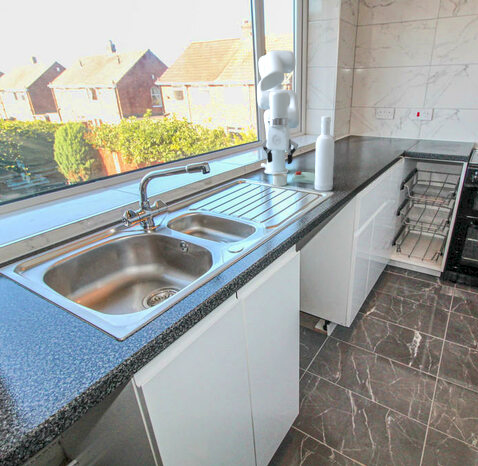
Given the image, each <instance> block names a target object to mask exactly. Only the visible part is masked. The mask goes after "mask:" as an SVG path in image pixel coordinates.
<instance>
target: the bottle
mask: <svg viewBox="0 0 478 466" xmlns="http://www.w3.org/2000/svg"><path fill="white" fill-rule="evenodd" d="M331 121H332V119H331V116H330V115H322V116H321V120H320V123H321V126H320V127H321V128H320V135H319V136H318V137H317V139H316V141H315V160H314V161H315V163H314V165H315V166H314V173H315V184H314V190H316V191H321V192H328V191H331V190H333V187H334V182H333V181H334V162H335V144H336V143H335V140H334V137H333V136H332V134H331V123H332V122H331Z"/></svg>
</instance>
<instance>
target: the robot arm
mask: <svg viewBox="0 0 478 466" xmlns="http://www.w3.org/2000/svg"><path fill="white" fill-rule="evenodd" d="M296 63H297V62H296V56H295V53H294V52H293V51H291V50H270V51H268V52H266V54H264V55H262V56H260V57H259V59H258V65H257V66H258V72H259V76H260V78H261V79H260V80H259V82H258V84H257V87H256V98H257V99H256V100H257V105H258V107H259V108H260V109H261V110H265V111H264V113H263V122H264V129H265V137H266V138H265V139H266V140H264V141H262V142H261V147H262V148H263V151H264V152H265V154H266V163H264V162H263V163H261V164H260V167H261V168H262V169H263V168H264V174H266V175H270V176H273V174H276V173H285V174H288V173H289V169H288V168H286V153H287V165H291V164H292V163H293V154H294V153H295V152H296V151H297V149H298V148H299V144H298V143H297V142H295V141H294V140H292V134H291V129H296V128H298V127H299V125H300V112H299V100H298V95H297V93H296V91H294V90H293V89H283V88H282V84H283V82H284V80H285V74H291V73H292V72H294V70H295V68H296ZM292 146H293V148H292Z"/></svg>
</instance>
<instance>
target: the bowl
mask: <svg viewBox="0 0 478 466" xmlns="http://www.w3.org/2000/svg"><path fill="white" fill-rule="evenodd" d="M272 184H273V185H274V186H275V187H284V186H287V185H288V173H286V174H285V173H276V174H273V175H272Z"/></svg>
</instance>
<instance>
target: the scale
mask: <svg viewBox="0 0 478 466" xmlns="http://www.w3.org/2000/svg"><path fill="white" fill-rule="evenodd" d="M291 182H292V183H293V182H294V183H303V184H312V185H313V184H314V185H315V172H309V171H301V175H296V172H295V173H293V174H292V179H291Z"/></svg>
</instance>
